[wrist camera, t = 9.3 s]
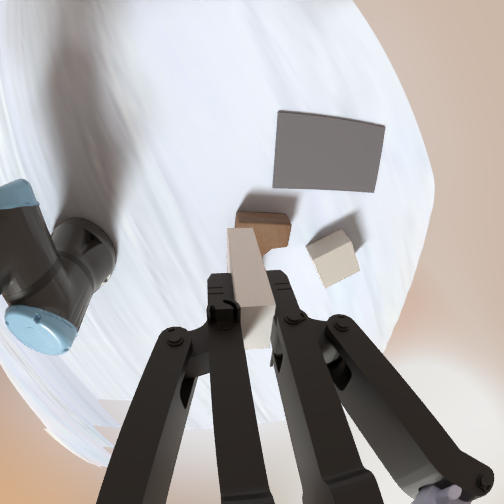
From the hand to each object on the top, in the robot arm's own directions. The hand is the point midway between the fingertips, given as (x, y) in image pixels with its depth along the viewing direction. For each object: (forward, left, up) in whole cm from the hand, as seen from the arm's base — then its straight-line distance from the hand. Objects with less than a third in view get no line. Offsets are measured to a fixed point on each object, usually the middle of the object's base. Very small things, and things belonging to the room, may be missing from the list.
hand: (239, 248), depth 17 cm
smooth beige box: (+21, -20, -30) cm, 42 cm away
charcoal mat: (+18, 0, -30) cm, 35 cm away
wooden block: (+7, -11, -28) cm, 30 cm away
